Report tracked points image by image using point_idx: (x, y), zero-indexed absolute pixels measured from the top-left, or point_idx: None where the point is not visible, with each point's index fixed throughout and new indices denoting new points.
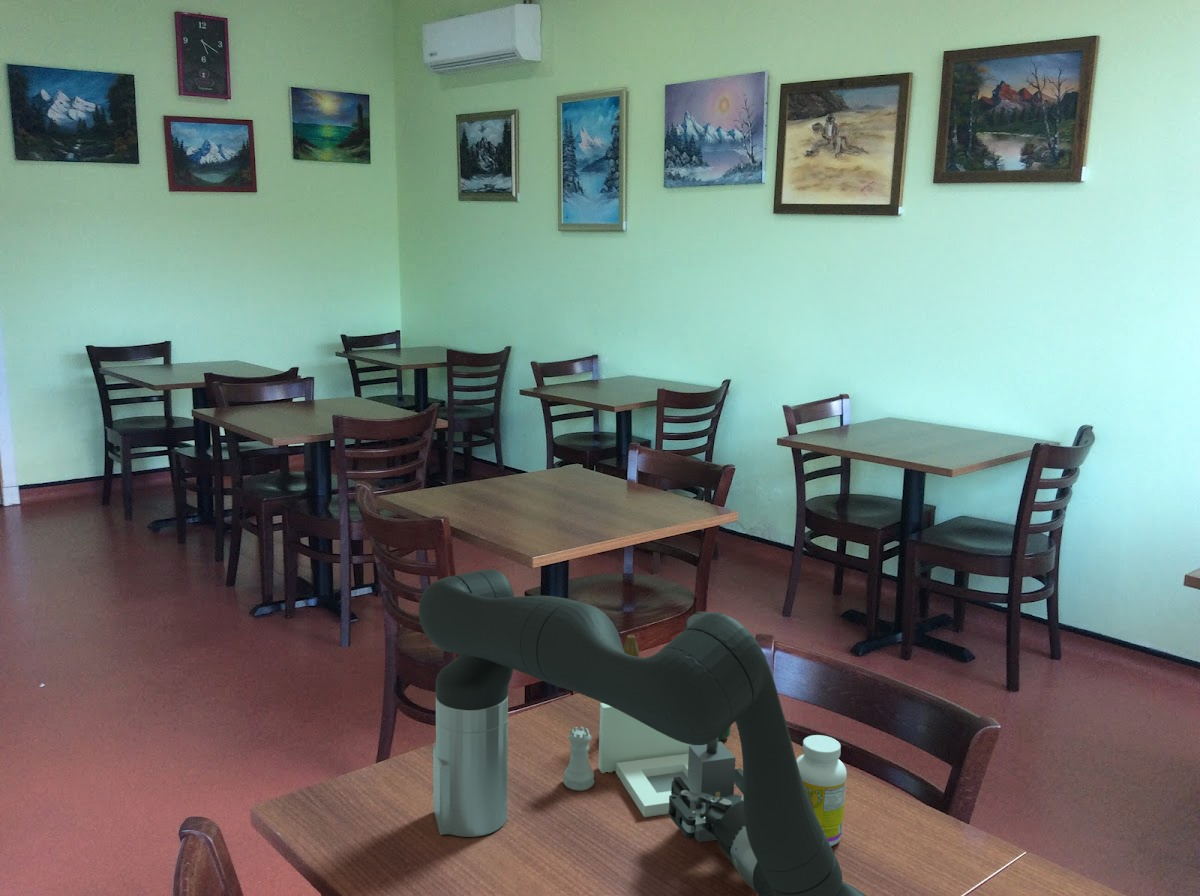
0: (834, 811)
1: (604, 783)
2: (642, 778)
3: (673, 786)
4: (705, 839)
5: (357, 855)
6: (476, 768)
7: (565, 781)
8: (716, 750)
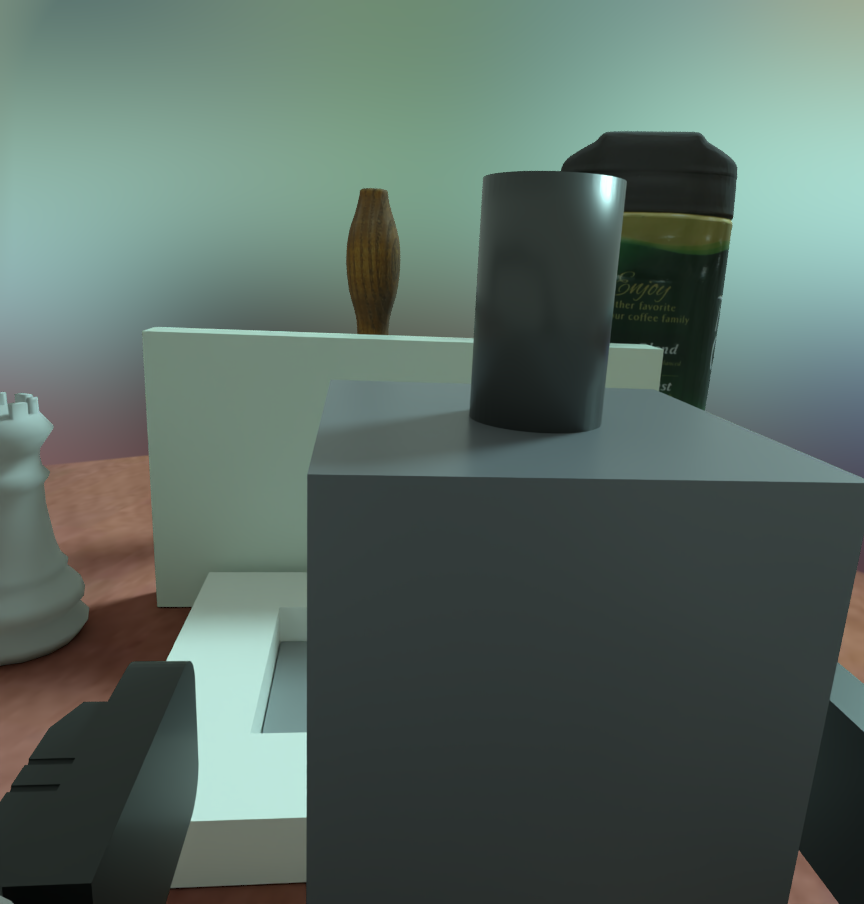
0: None
1: (120, 646)
2: (249, 645)
3: (20, 771)
4: None
5: None
6: None
7: None
8: (585, 394)
